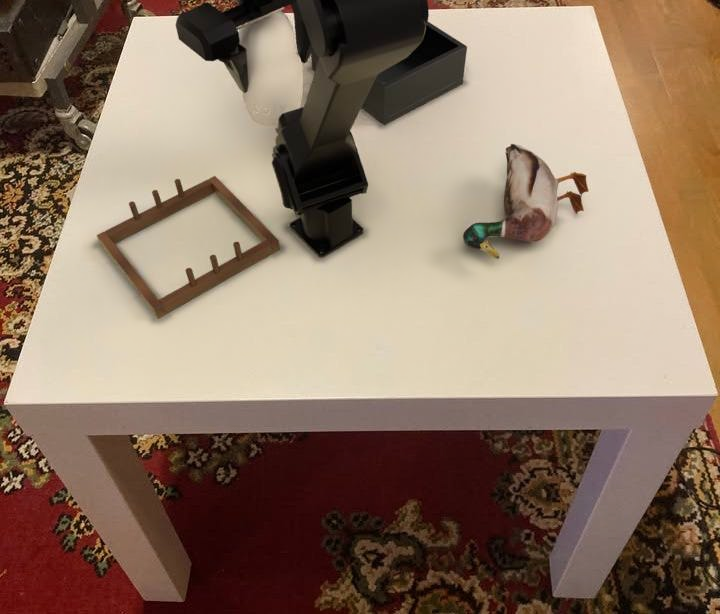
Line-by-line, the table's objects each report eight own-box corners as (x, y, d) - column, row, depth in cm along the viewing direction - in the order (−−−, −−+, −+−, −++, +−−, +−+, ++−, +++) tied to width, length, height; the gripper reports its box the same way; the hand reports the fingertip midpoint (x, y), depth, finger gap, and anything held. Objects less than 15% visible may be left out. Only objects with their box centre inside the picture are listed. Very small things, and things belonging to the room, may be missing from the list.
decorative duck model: (479, 243, 75) (424, 150, 83) (476, 284, 81) (425, 194, 89) (608, 199, 77) (542, 111, 85) (595, 242, 83) (535, 157, 91)
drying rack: (280, 249, 83) (276, 225, 80) (158, 318, 77) (149, 296, 74) (217, 184, 90) (211, 160, 87) (100, 244, 84) (89, 220, 81)
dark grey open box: (462, 84, 102) (467, 46, 97) (384, 125, 97) (384, 87, 92) (388, 33, 110) (389, -4, 105) (311, 69, 105) (308, 31, 100)
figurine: (307, 89, 87) (299, -5, 78) (300, 129, 83) (290, 34, 73) (250, 88, 88) (234, -6, 78) (239, 127, 83) (222, 33, 73)
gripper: (283, -118, 77) (295, 17, 89) (130, -62, 70) (166, 76, 82) (350, -82, 72) (353, 56, 84) (192, -17, 64) (221, 123, 77)
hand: (274, 75), depth 82 cm, fingers closed on figurine, 8 cm apart
